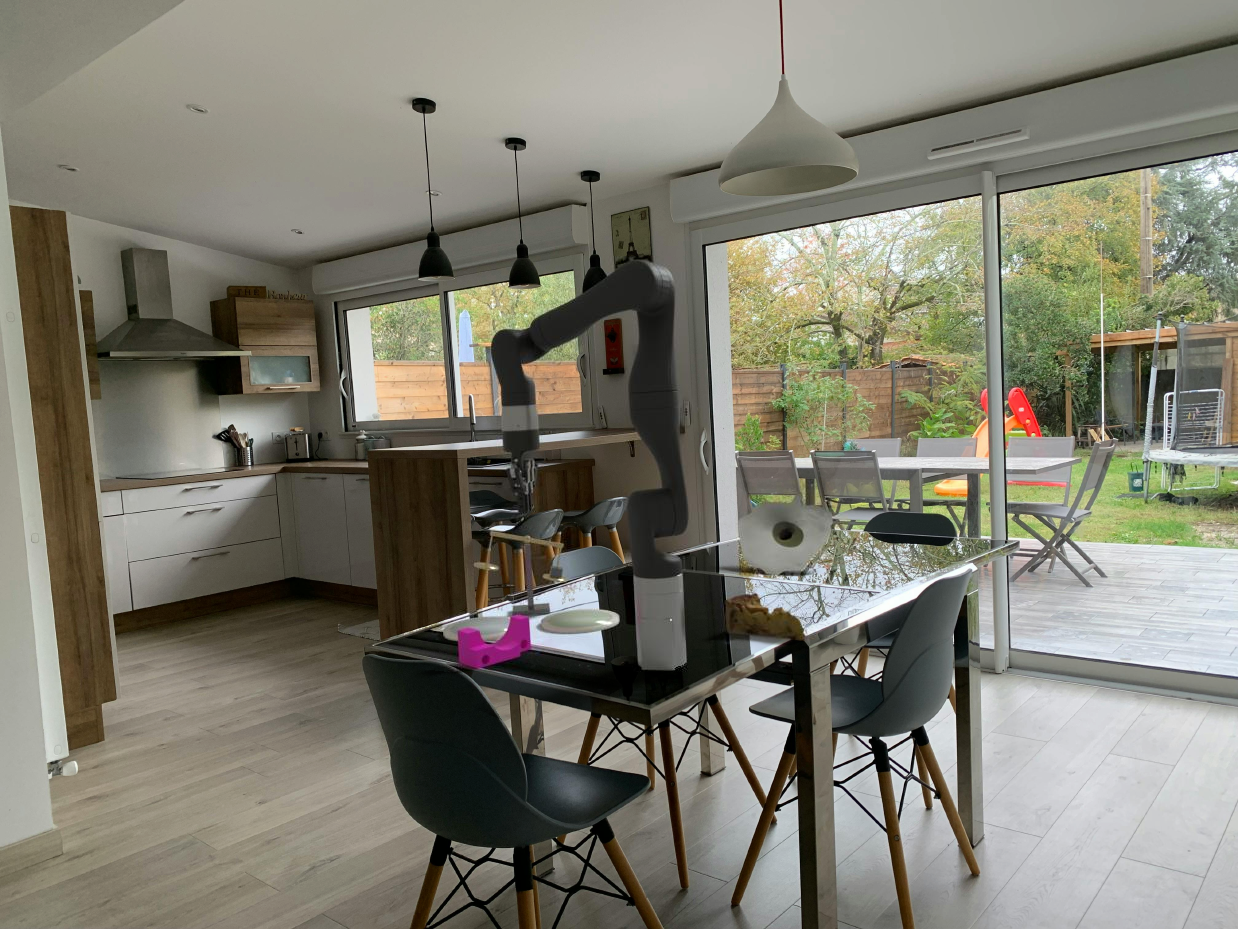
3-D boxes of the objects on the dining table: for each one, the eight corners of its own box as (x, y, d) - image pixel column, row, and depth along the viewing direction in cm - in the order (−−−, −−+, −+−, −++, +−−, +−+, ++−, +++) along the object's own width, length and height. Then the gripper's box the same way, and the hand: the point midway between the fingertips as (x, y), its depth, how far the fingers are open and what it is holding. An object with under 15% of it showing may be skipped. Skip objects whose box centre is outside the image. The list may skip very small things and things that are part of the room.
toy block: (477, 673, 170) (475, 635, 169) (459, 667, 174) (457, 630, 173) (538, 654, 180) (536, 619, 179) (520, 649, 184) (518, 614, 184)
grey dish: (507, 643, 189) (507, 637, 188) (430, 642, 193) (429, 636, 193) (534, 621, 206) (533, 616, 206) (462, 621, 210) (462, 615, 210)
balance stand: (513, 610, 218) (508, 543, 217) (549, 607, 219) (545, 541, 218) (512, 616, 212) (508, 547, 211) (550, 613, 213) (546, 545, 212)
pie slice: (722, 636, 187) (720, 599, 186) (753, 625, 193) (752, 590, 193) (789, 652, 173) (787, 612, 172) (820, 640, 179) (819, 602, 179)
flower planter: (817, 602, 254) (724, 577, 265) (844, 510, 264) (753, 490, 275) (813, 584, 240) (715, 558, 251) (842, 488, 251) (747, 467, 262)
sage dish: (609, 635, 191) (608, 629, 191) (530, 634, 195) (530, 628, 195) (626, 614, 208) (626, 609, 208) (554, 613, 212) (554, 608, 212)
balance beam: (474, 563, 216) (481, 526, 216) (566, 578, 219) (573, 542, 218) (473, 567, 210) (480, 529, 210) (567, 583, 213) (574, 546, 212)
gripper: (526, 428, 172) (532, 516, 173) (547, 425, 185) (552, 507, 186) (490, 430, 173) (496, 517, 175) (514, 427, 186) (519, 508, 188)
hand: (525, 511), depth 180 cm, fingers closed
